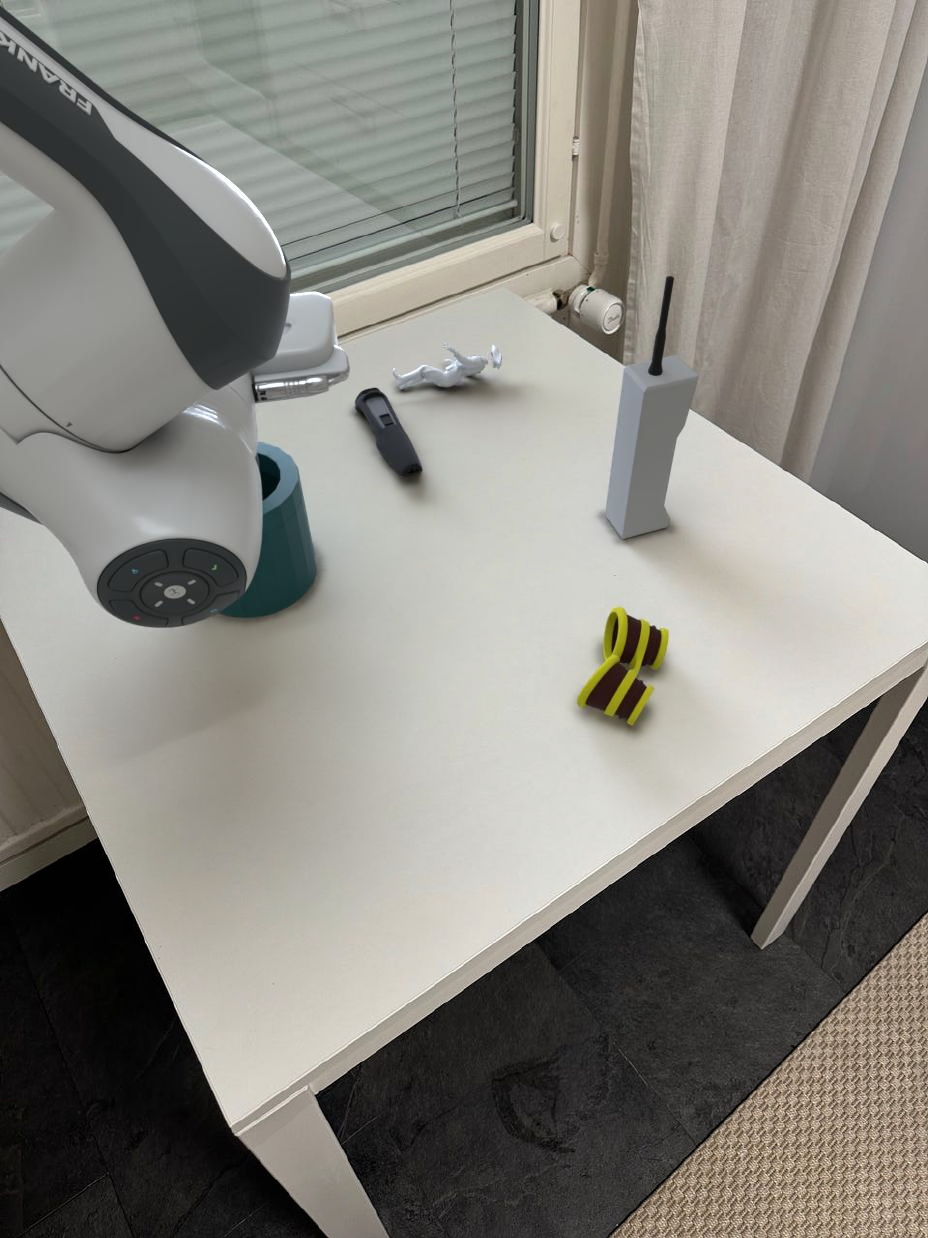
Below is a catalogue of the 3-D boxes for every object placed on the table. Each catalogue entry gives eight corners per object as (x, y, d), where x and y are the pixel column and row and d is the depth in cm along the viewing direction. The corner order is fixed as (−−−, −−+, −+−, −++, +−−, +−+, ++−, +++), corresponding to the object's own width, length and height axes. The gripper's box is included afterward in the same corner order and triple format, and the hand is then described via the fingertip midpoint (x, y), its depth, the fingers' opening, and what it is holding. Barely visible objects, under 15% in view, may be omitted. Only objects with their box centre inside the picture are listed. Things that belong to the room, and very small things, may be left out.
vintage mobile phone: (668, 528, 85) (718, 279, 67) (621, 541, 84) (659, 291, 66) (650, 504, 88) (694, 258, 69) (604, 516, 87) (636, 269, 68)
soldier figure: (395, 379, 105) (486, 333, 105) (413, 417, 106) (504, 371, 105) (389, 365, 98) (487, 316, 97) (408, 406, 98) (507, 356, 97)
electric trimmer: (396, 492, 90) (393, 467, 88) (352, 408, 100) (349, 384, 97) (431, 483, 91) (429, 458, 89) (384, 401, 101) (382, 377, 98)
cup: (214, 634, 77) (182, 540, 69) (182, 556, 84) (150, 462, 76) (333, 592, 80) (316, 498, 72) (294, 521, 87) (274, 427, 79)
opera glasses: (631, 742, 70) (652, 707, 66) (569, 715, 70) (586, 680, 67) (659, 653, 76) (680, 617, 72) (601, 629, 77) (619, 592, 73)
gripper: (347, 338, 52) (326, 235, 61) (-17, 382, 50) (17, 268, 59) (359, 428, 57) (337, 320, 66) (26, 472, 54) (52, 354, 64)
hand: (184, 296), depth 62 cm, fingers closed on brush, 2 cm apart
